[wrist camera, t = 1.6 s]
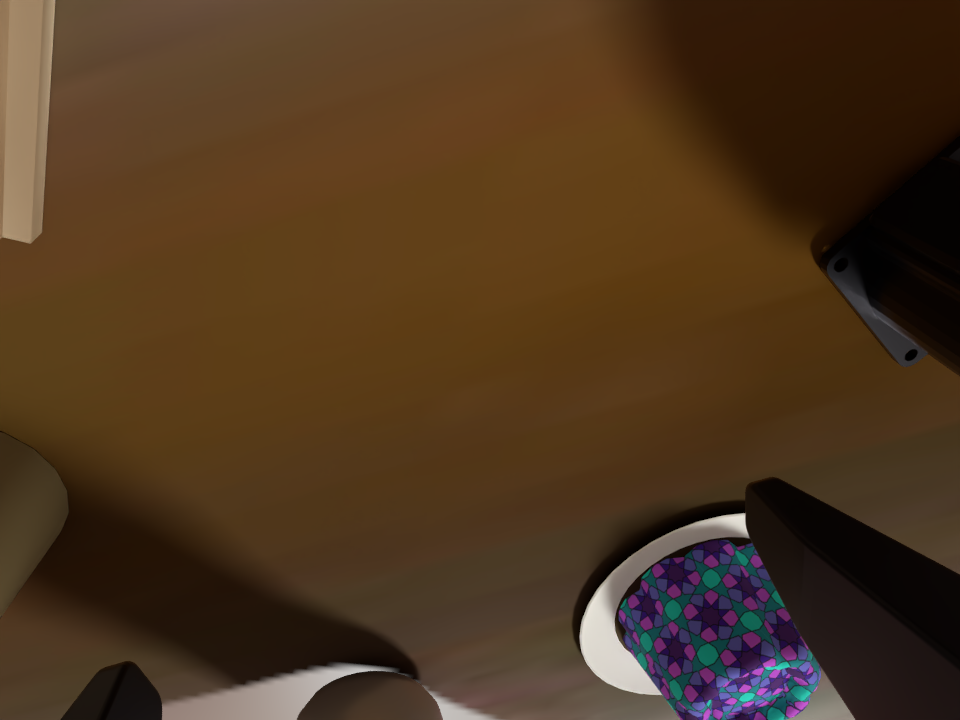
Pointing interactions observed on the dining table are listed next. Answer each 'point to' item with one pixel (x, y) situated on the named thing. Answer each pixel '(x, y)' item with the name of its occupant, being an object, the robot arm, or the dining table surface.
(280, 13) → the dining table surface
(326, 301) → the dining table surface
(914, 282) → the robot arm
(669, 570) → the patterned bowl
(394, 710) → the plastic bottle
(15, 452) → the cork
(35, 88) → the cradle
